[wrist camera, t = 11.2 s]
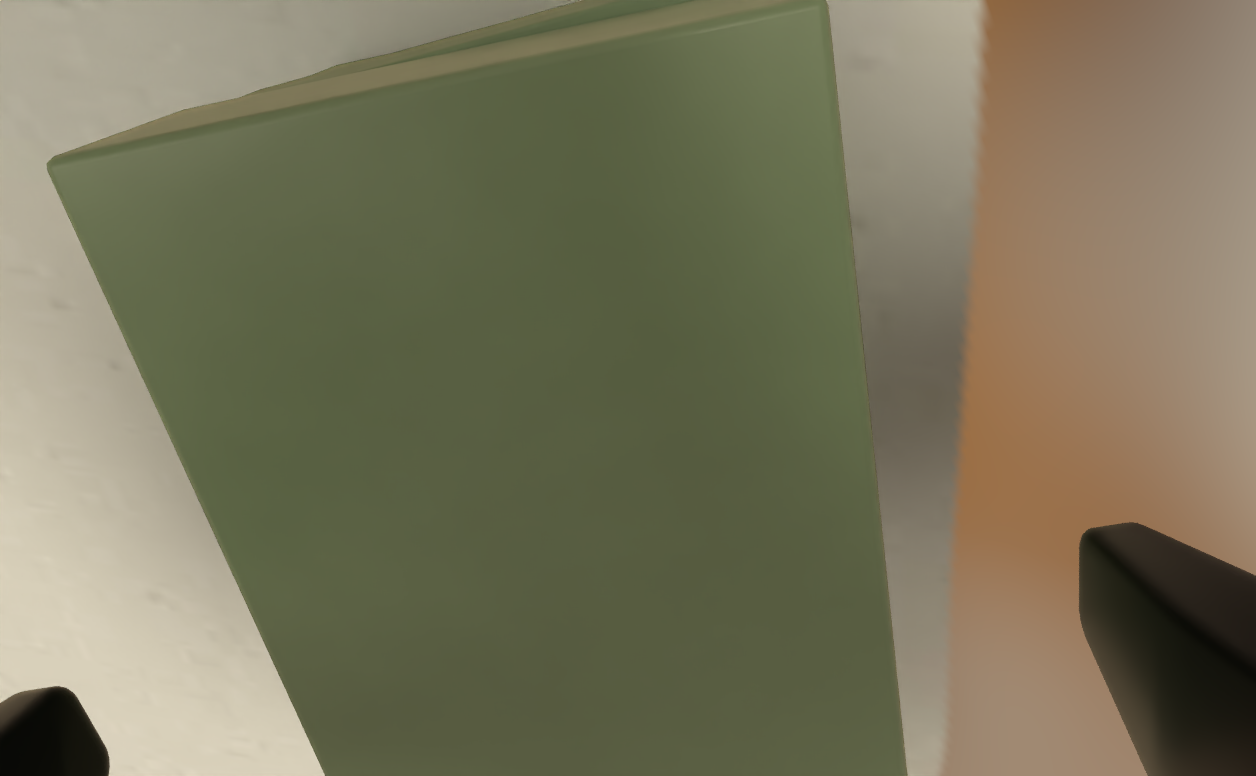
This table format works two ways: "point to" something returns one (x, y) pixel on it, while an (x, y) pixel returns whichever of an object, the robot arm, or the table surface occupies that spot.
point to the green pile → (493, 35)
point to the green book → (528, 395)
